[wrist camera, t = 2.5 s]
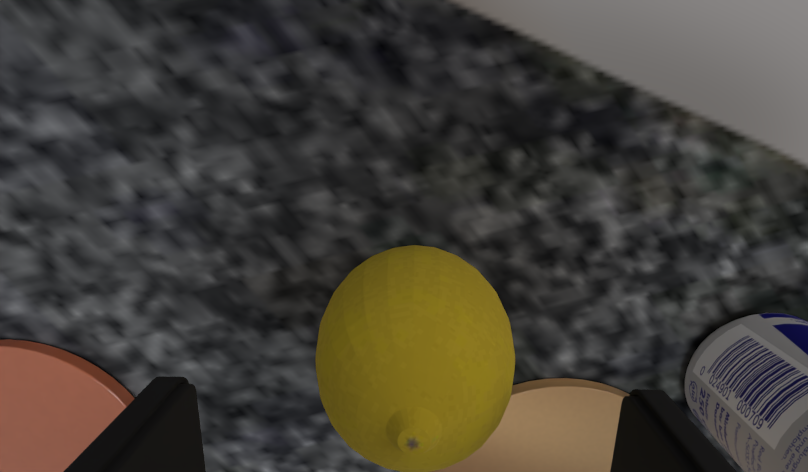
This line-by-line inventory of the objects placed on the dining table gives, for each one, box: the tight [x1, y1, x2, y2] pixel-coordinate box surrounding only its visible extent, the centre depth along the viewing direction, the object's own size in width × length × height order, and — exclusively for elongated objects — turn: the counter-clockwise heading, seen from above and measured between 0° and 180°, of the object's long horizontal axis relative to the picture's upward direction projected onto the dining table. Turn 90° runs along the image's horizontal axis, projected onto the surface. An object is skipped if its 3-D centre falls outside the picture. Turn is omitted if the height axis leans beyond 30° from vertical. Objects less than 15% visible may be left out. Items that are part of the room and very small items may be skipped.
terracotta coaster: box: [0, 339, 135, 472], centre depth 19 cm, size 11×11×1 cm
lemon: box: [315, 245, 515, 472], centre depth 13 cm, size 6×6×8 cm
